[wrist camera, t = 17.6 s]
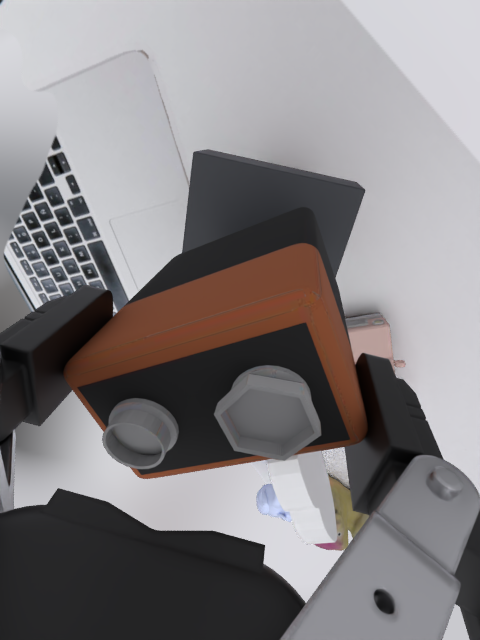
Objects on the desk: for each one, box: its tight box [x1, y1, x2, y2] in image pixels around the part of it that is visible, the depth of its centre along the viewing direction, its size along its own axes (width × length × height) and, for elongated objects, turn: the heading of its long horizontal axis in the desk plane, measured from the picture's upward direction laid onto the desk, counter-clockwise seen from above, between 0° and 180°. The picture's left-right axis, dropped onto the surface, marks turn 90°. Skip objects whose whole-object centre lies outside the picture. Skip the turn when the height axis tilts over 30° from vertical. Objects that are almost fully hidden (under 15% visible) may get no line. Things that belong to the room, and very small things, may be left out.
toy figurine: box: [257, 484, 292, 522], centre depth 55 cm, size 7×6×12 cm
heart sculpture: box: [267, 451, 337, 544], centre depth 47 cm, size 16×5×18 cm, turn 23°
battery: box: [63, 207, 368, 479], centre depth 12 cm, size 4×7×10 cm, turn 113°
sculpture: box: [315, 476, 369, 550], centre depth 58 cm, size 15×8×10 cm, turn 73°
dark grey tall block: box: [182, 149, 365, 277], centre depth 31 cm, size 13×9×24 cm
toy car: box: [345, 313, 406, 373], centre depth 45 cm, size 9×15×10 cm, turn 16°
